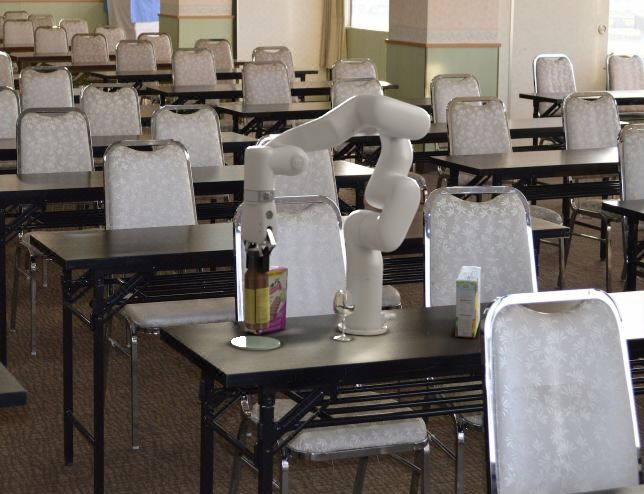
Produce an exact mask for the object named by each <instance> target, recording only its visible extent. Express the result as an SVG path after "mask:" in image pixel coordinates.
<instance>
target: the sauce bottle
mask: <svg viewBox="0 0 644 494" xmlns="http://www.w3.org/2000/svg"><path fill="white" fill-rule="evenodd" d="M248 255H249V265H248V266H249V267H248V269H246V271H245V273H244V275H243V276H244V278H243V279H244V280H243V281H244V283H243V284H244V285H243V297H244V298H243V300H244V301H243V302H244V303H243V304H244V305H243V307H244V309H243V310H244V311H243V312H244V313H243V315H244V327H245V326H246V328H248V329H252V330H264V329H267V328H268V327H269V321H270V309H269V277H268V274H267V272H261V273H259V272H257V258H258V256H259V248H258V247H257V248H250V249H248Z"/></svg>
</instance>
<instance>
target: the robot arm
mask: <svg viewBox="0 0 644 494" xmlns="http://www.w3.org/2000/svg"><path fill="white" fill-rule="evenodd" d="M368 128H370V129H376V131H377V133H378V135H379V139H380V143H381V150H380V155H379V158H378V160H377V162H376V165H375V167H374V169H373V171H372V173H371V176H370V177H369V180H368V182H367V185H366V187H365V190H364V198H365V202H366V203H367V204H368V205H369V206H371V207H373V208H376V209H379V210H381V212H378V211H374V210H368V209H357V210H354V211H352V212H351V213H350V214H348V215H347V217H346V218H345V221H344V223H343V239H344V245H345V261H346V262H345V264H346V265H345V266H346V267H345V286H344V287H345V289H344V290H346V291H352V292H354V297H355V311H354V313H353V314H352V315H350V316H348V317H345V325H344V334H345V333H346V334H349V335H355V336H377V335H382V334H385V333H387V330H388V327H387V325H386V323H387V322H394V321H396V318H397V315H396V314H395V313H387V314H386V313H385V312H382V309H383V308H382V306H383V281H384V280H383V277H384V275H383V274H384V260H383V256H382V253H391V252H394V251H397V249H398V248H399V247H400V246H401V245H402V243H403V242H404V241H405V238H406V237H407V234H408V231H409V229H410V228H411V225H412V223H413V220H414V218H415V216H416V214H417V211H418V209H419V206H420V203H421V197H422V196H421V188H420V186H419V184H418V182H417V181H416V180H415V179H413V178H412V177H409V176H408V175H409V172H410V170H411V168H412V164H413V160H414V152H413V147H412V143H411V141H418V140H421V139H423V138H424V137H426V135H427V134H428V133H429V131H430V128H431V118H430V115H429V114H428V112H427V111H426V110H425V109H424V108H422V107H420V106H417V105H414V104H411V103H408V102H405V101H402V100H399V99H396V98H392V97H390V96H388V95H382V94H372V93H358V94H355V95H353V96H351V97H349V98H348V99H347V100H345V101H344V102H342V103H340V104H339V105H338V106H336V107H334V108H333V109H331V110H329V111H328V112H326V113H325V114H323V115H322V116H319V117H318V118H315V119H313V120H310V121H308V122H305V123H303V124H299V125H297V126H295V127H292V128H290V129H287V130H286V131H284V132H282V133H280V134H279V135H277V136H275V137H274V138H272V139H270V140H269V141H267V142H266V143H265V144H264V145H252V146H251V145H250V146H248V147H247V148H246V149H245V151H244V167H243V168H244V170H243V171H244V172H243V207H242V214H241V227H240V228H241V235H240V239H241V240H242V242H243V245H244V252H245V269H246V270H247V269H248V267H249V266H248V265H249V255H248V249H250V248H259V256H258V258H257V272H259V273H261V272H269V266H270V263H271V261H270V259H271V258H270V257H271V256H272V252H273V250H274V249H275V248H276V247H277V243H278V235H279V232H278V229H279V228H278V212H277V207H276V203H275V197H276V196H275V194H276V193H275V192H276V191H275V190H276V189H275V188H276V176H286V177H296V176H299V175H301V174H302V173H304V172H305V171H306V170H307V168H308V166H309V157H308V155H307V153H312V152H318V151H325V150H331V149H333V148H337V147H339V146H340V145H342V144H344V143H345V142H346V141H348V140H349V139H351V138H353V137H354V136H355V135H357V134H358V133H359V134H360V132H362V131H363V130H365V129H368ZM338 330H339V331H340V332H342V322H340V323H338Z"/></svg>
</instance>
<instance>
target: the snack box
mask: <svg viewBox="0 0 644 494" xmlns="http://www.w3.org/2000/svg"><path fill="white" fill-rule="evenodd" d="M481 274H482V267H481V266H473V265H463V266H461V269H460V271H459V274H458V276H457V278H456V281H455V291H456V292H455V329H454V330H455V334H454V337H455V338H469V339H475V338H476V334H477V331H478V328H479V324H480V322H481V276H482V275H481Z"/></svg>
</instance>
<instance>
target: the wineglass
mask: <svg viewBox="0 0 644 494" xmlns="http://www.w3.org/2000/svg"><path fill="white" fill-rule="evenodd" d="M332 310H333V313H334V314H335V315H337V316H338V317H341V318H342V319H341V323H342V331H341V335H337V336H334V337H333V339H334V340H336V341H340V342H341V341H342V342H343V341H344V342H346V341H351V340H352V339H353V338H352V337H351V336H347V335H346V334H345V332H344V325H345V317H348V316H350V315H352V314H353V313H354V311H355V297H354V292H352V291H346V290H345V289H344V290H343V289H341V290H336V291H334V294H333V299H332Z"/></svg>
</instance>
